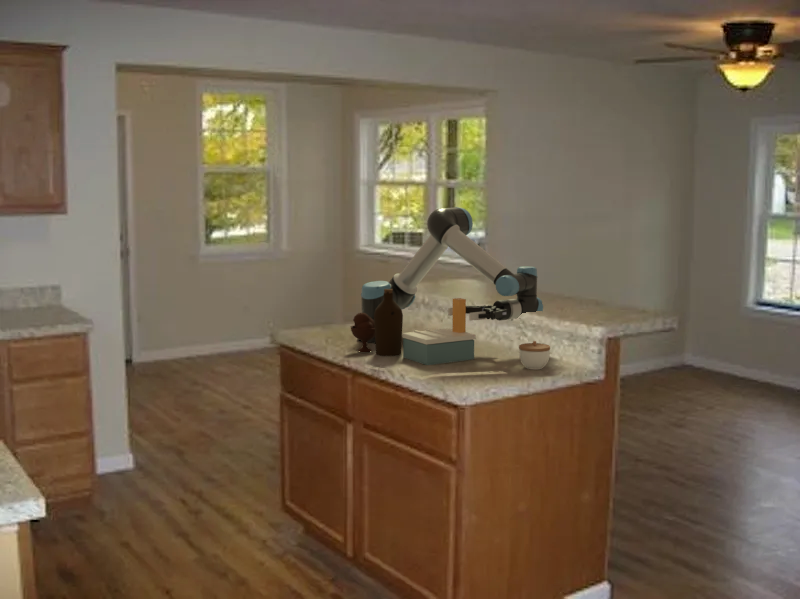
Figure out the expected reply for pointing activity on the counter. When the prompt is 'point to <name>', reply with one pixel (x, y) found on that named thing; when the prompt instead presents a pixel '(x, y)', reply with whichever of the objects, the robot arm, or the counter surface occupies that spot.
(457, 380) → the counter surface
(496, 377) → the counter surface
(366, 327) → the ice cream bowl
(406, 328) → the counter surface
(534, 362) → the lidded jar
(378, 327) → the olive oil
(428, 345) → the tub
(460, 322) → the lid
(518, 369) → the counter surface
